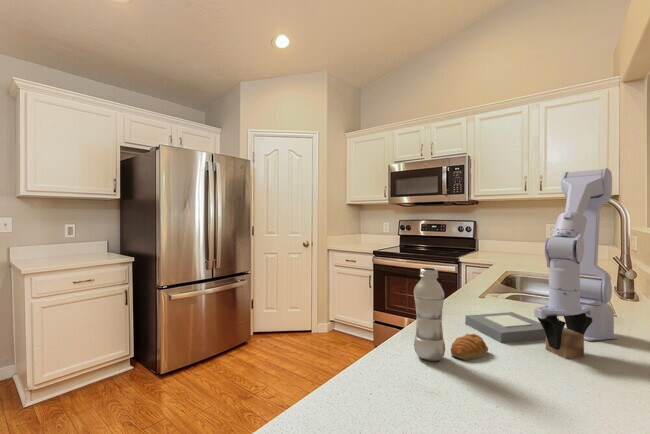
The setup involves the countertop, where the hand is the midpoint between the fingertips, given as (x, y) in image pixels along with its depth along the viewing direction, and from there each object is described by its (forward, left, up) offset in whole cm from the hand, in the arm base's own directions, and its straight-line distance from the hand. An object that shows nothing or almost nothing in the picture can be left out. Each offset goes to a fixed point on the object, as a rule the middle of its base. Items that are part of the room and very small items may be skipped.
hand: (564, 346), depth 72 cm
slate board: (+2, -15, -1) cm, 15 cm away
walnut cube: (0, 0, -1) cm, 1 cm away
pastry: (+22, -5, -2) cm, 22 cm away
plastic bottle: (+32, -4, -2) cm, 32 cm away
